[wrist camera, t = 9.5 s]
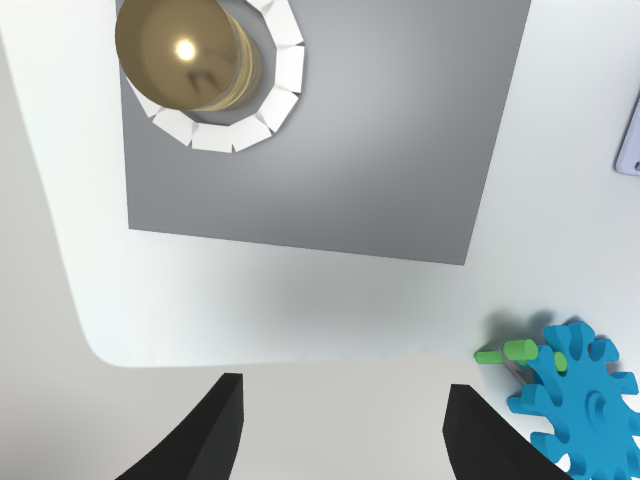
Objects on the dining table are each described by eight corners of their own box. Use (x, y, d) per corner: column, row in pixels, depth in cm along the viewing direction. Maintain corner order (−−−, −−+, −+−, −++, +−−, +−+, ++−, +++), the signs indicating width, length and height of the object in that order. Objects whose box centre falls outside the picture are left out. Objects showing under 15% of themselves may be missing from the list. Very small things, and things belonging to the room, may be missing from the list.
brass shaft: (263, 23, 17) (234, -20, 12) (263, 113, 19) (236, 113, 13) (178, 18, 17) (107, -27, 12) (184, 108, 19) (122, 107, 13)
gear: (673, 399, 23) (652, 573, 18) (576, 394, 28) (538, 529, 23) (562, 271, 22) (507, 416, 17) (483, 289, 27) (421, 405, 22)
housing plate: (525, -14, 18) (556, -34, 15) (458, 259, 22) (473, 276, 20) (123, -64, 17) (90, -93, 15) (137, 223, 22) (114, 237, 19)
